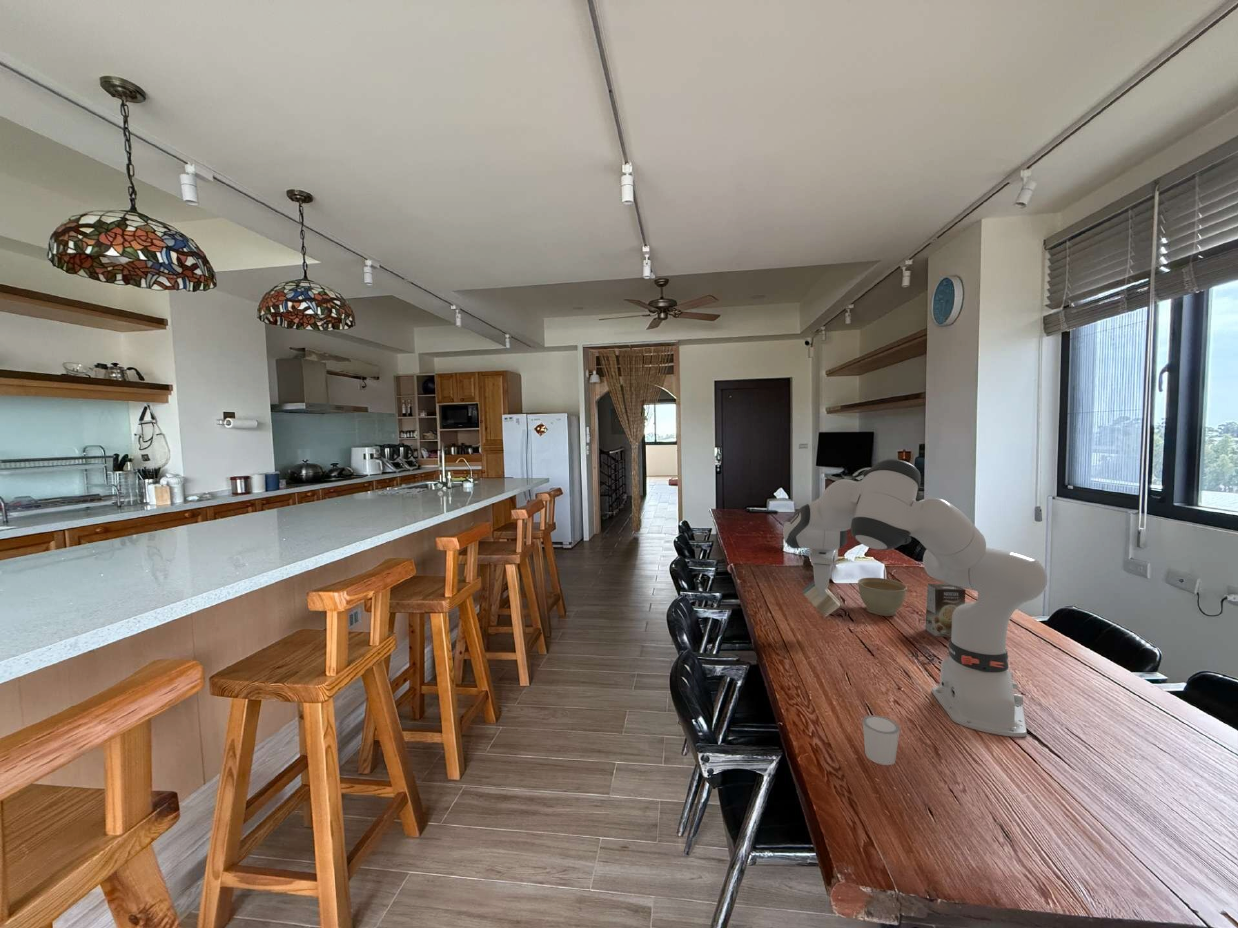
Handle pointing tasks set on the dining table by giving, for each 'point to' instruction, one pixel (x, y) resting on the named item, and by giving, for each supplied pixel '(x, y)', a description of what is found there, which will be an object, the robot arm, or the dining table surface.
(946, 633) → the coffee box
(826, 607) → the birch block
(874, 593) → the planter bowl
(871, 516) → the robot arm
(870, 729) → the shot glass
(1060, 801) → the dining table surface
